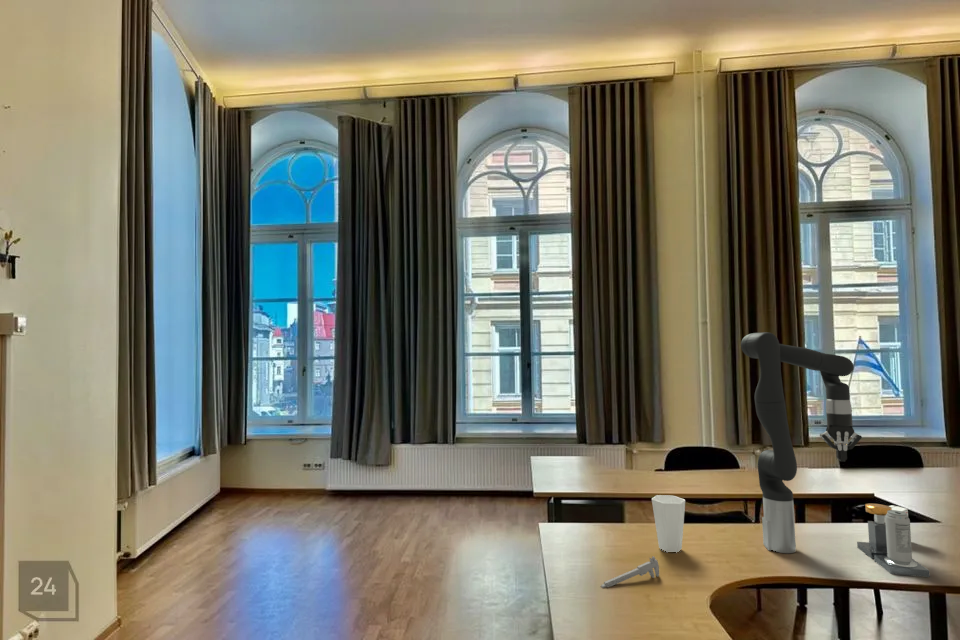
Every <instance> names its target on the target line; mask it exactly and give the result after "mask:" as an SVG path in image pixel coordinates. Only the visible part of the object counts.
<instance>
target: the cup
mask: <svg viewBox="0 0 960 640" xmlns="http://www.w3.org/2000/svg"><path fill="white" fill-rule="evenodd" d="M651 503H652V510H653V511H652V512H653V516H654V523H655V531H656V537H657V542H658V543H657V544H658V548H660V549H659V550H661V549H662V550H661V551H663V550H664V551H663V552H665V551H666V552H665V553H668V552H676V553H675V554H678V553H677V552H679V551H680V550H681V549H682V547H683V537H684V523H685V512H686V511H685V509H686V499H684V498H681V497H679V496H676V495H669V494H668V495H667V494H666V495H665V494H664V495H663V494H662V495H661V494H659V495H658V494H656V495H655V496H654V497H652V498H651ZM681 551H682V550H681ZM681 551H680V552H681ZM680 552H679V553H680Z"/></svg>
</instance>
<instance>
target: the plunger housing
mask: <svg viewBox="0 0 960 640" xmlns="http://www.w3.org/2000/svg"><path fill="white" fill-rule="evenodd" d="M867 529H868V542H865V541H856V545H857V546H856V547H857V549H859V551H861V552H863V553H864V554H865V555H866V556H867V557H868V558H870V559H871V560H874V555H884V556H887V539H886V523H885V522H884V525H876V524H875V521H872V520H867Z"/></svg>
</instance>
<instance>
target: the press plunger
mask: <svg viewBox="0 0 960 640" xmlns="http://www.w3.org/2000/svg"><path fill="white" fill-rule="evenodd" d="M889 506H890V505H885V504H880V503H865V512H866V513H869V514H871V515H873V520H874V521H875V524H876V525H884V516H885V515H886V514H887V511H888V510H892V508H891V507H889Z"/></svg>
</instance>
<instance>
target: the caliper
mask: <svg viewBox="0 0 960 640" xmlns="http://www.w3.org/2000/svg"><path fill="white" fill-rule="evenodd" d="M647 573H649V576H650V577H651V578H653V579H654V578H655V576H656V577H657V578H659V577H660V565H659V561H658V560H657V559H656V557H655V556H652V557H649V561H645V562H644V563H642V564H639V565H637V567H636V568H634V569H631V570H630V571H629V570H628V571H627V572H624V573H622V574H620V575H617V576H615V577H613V578H610V579H608V580H605V581H604V582H603V584H601V585H600V587H601V588H602V589H604V588H609V587H613V586H615V585H617V584H620V583H621V582H624V581H626V580H629V579H631V578H633V577H636V576H638V575H639V576H641V577H642V576H644V575H646V574H647Z"/></svg>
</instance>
